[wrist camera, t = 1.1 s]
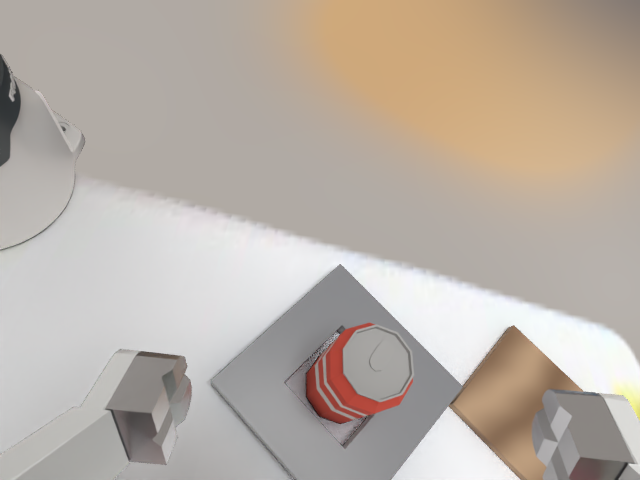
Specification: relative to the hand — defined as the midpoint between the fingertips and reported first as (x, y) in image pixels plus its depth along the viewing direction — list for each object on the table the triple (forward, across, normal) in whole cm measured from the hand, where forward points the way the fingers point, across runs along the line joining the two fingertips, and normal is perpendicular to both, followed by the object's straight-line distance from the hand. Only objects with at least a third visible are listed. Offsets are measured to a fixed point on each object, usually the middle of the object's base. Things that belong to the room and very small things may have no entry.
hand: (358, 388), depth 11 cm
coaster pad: (+24, -17, +29) cm, 41 cm away
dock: (+21, +1, +26) cm, 33 cm away
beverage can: (+21, +1, +26) cm, 34 cm away
